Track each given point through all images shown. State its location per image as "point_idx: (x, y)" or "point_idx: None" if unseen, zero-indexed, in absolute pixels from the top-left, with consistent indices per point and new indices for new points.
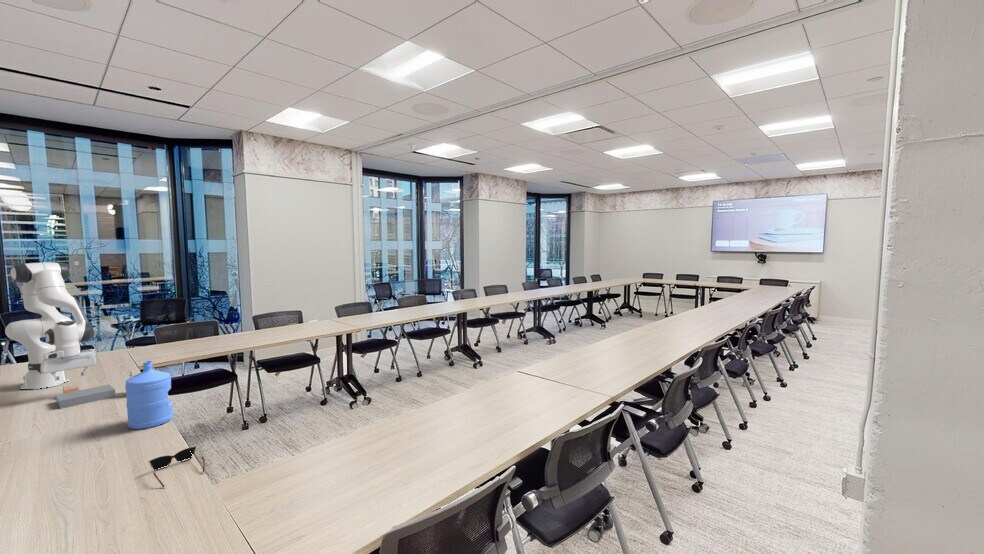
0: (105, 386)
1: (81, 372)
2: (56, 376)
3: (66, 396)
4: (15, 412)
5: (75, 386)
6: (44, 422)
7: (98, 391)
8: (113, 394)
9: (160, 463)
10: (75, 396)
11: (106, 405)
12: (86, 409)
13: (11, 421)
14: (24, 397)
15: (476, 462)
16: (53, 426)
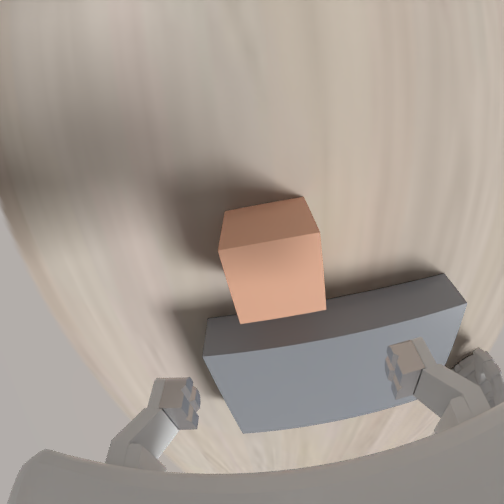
0: (439, 336)
1: (403, 388)
2: (168, 422)
3: (262, 404)
4: (87, 346)
5: (310, 270)
6: (225, 455)
7: (385, 397)
8: None
9: None
10: (297, 418)
11: (365, 425)
12: (316, 433)
13: (133, 416)
14: (11, 62)
15: None
16: (249, 470)
